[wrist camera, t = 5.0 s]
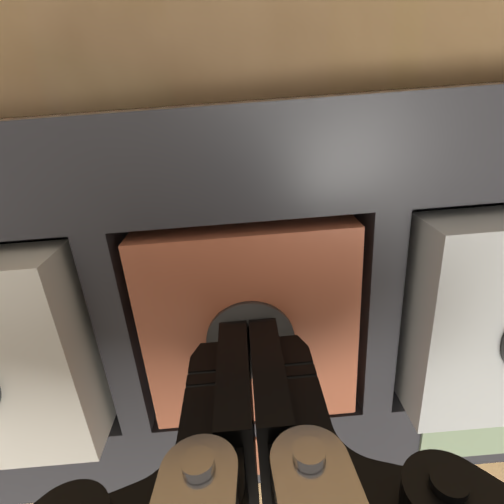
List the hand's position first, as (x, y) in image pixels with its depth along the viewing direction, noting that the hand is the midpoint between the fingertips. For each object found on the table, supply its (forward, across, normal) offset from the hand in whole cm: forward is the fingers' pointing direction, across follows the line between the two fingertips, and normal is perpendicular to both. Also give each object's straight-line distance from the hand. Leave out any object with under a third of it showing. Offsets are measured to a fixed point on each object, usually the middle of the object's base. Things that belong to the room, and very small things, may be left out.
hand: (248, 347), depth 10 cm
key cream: (+1, +7, 0) cm, 7 cm away
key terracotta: (+2, 0, 0) cm, 2 cm away
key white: (+1, -8, 0) cm, 8 cm away
